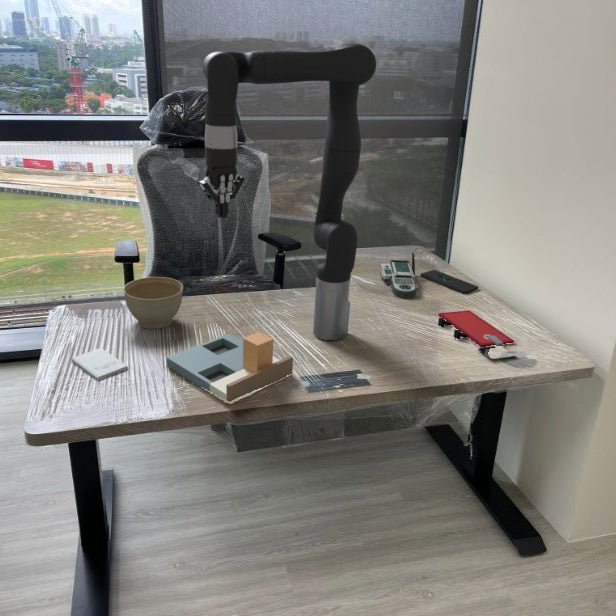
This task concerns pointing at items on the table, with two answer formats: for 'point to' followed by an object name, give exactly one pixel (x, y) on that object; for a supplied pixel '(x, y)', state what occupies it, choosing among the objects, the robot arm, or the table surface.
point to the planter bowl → (153, 300)
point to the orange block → (257, 352)
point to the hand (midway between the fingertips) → (222, 217)
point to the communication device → (400, 277)
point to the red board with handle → (474, 329)
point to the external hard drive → (99, 363)
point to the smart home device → (449, 281)
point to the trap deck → (226, 368)
